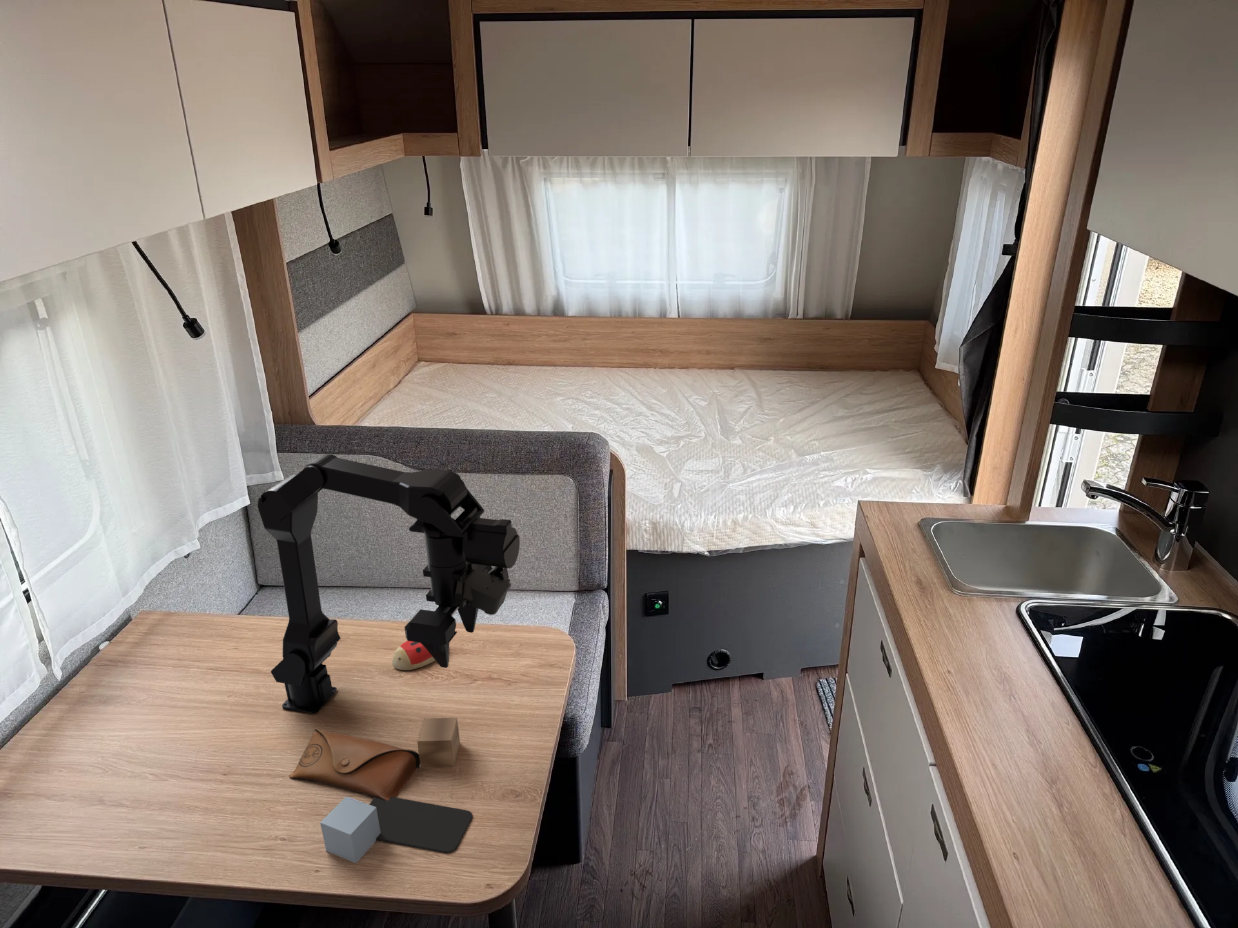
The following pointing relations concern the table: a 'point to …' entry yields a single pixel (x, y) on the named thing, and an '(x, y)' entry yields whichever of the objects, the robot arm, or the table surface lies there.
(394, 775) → the sunglasses case
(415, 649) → the ladybug figurine
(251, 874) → the table surface
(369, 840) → the slate block
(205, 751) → the table surface
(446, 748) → the walnut block
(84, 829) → the table surface
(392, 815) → the phone
